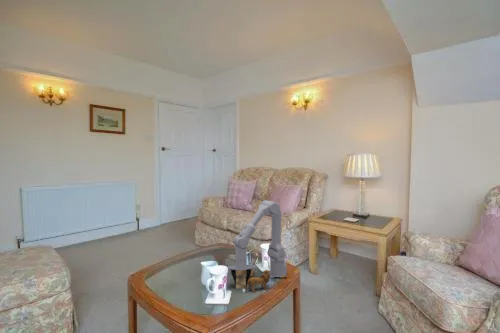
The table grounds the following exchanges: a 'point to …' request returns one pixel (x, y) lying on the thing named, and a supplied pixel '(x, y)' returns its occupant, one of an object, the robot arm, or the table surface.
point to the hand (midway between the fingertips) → (241, 283)
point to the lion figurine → (259, 280)
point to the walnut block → (244, 273)
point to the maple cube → (241, 282)
